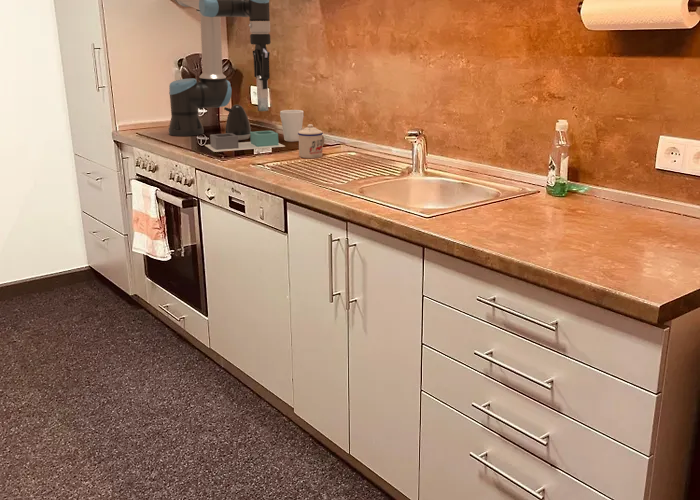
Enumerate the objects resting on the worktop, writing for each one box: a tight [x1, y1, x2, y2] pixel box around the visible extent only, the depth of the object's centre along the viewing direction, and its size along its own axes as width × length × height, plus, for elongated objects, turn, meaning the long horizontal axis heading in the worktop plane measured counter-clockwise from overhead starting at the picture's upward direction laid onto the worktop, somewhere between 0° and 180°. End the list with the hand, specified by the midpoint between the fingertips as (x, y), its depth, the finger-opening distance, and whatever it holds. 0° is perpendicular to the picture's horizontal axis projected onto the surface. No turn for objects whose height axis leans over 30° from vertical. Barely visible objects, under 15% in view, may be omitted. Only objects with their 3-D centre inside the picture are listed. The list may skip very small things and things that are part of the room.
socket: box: [250, 130, 279, 147], centre depth 272 cm, size 9×9×4 cm
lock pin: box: [256, 76, 269, 112], centre depth 266 cm, size 4×4×13 cm
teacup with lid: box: [298, 123, 325, 159], centre depth 256 cm, size 12×9×12 cm
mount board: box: [204, 132, 286, 153], centre depth 269 cm, size 16×28×6 cm, turn 114°
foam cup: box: [279, 109, 305, 142], centre depth 280 cm, size 10×9×13 cm
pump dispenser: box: [223, 104, 252, 141], centre depth 284 cm, size 10×10×15 cm
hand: (262, 97), depth 267 cm, fingers closed on lock pin, 4 cm apart
